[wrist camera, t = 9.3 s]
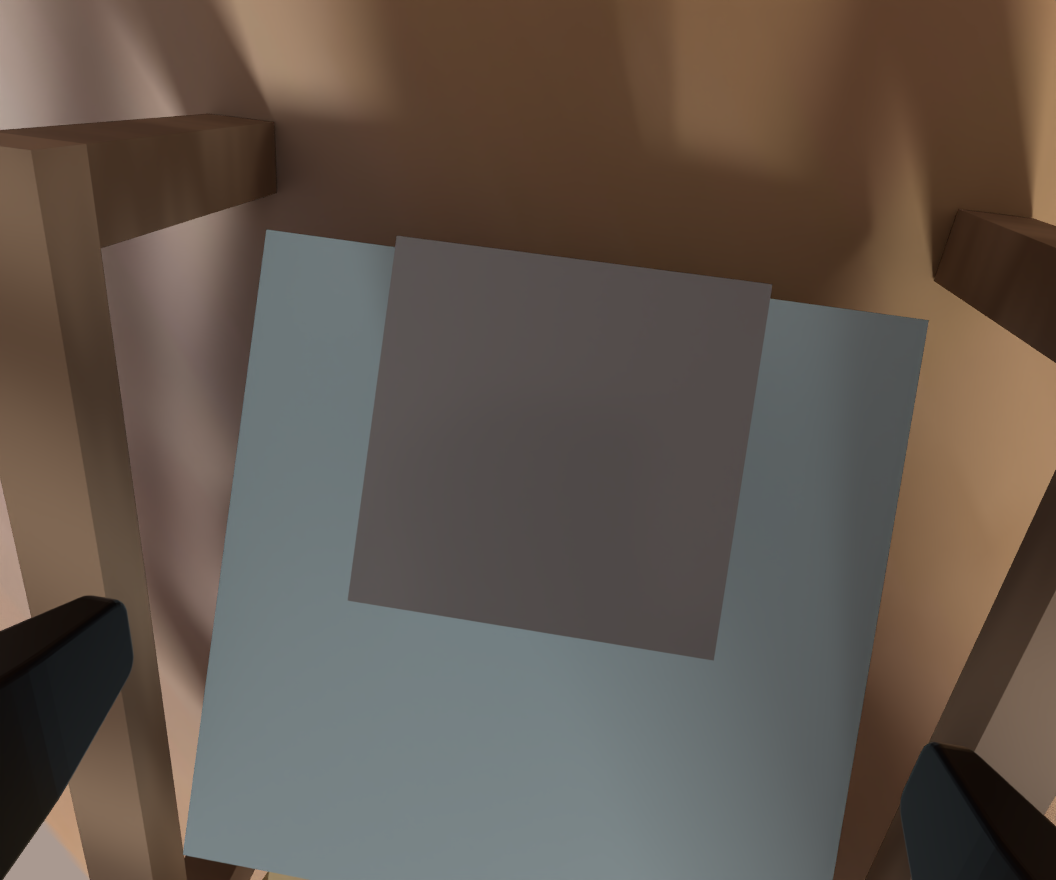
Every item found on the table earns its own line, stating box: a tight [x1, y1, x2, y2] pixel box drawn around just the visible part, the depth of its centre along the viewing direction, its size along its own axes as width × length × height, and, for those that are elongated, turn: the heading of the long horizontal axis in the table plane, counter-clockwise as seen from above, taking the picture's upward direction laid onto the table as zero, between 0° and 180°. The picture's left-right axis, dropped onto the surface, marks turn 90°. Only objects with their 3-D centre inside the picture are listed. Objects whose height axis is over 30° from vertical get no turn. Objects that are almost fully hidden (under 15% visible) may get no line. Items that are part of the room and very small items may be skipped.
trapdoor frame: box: [0, 114, 1056, 880], centre depth 19 cm, size 22×19×8 cm
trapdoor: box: [183, 230, 929, 880], centre depth 20 cm, size 20×14×6 cm
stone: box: [348, 236, 772, 661], centre depth 13 cm, size 5×5×6 cm
